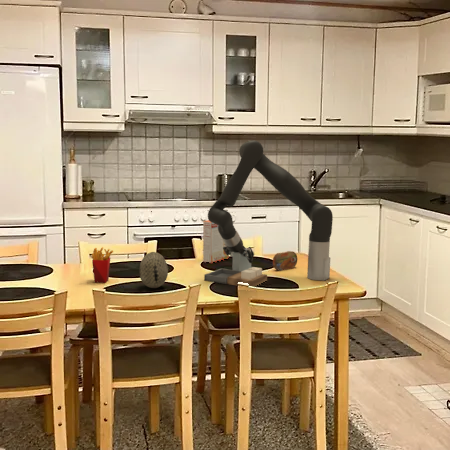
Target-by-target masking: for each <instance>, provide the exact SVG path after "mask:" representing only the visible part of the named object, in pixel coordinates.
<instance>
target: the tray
mask: <svg viewBox="0 0 450 450" xmlns="http://www.w3.org/2000/svg"><path fill="white" fill-rule="evenodd" d="M239 272H241V271H236V270H232V269H227V268H222V267H221V268H219V269H216V270H214V271H211V272H208V273H205V274H204V275H203V276H204V277H203V278H204V281H205V282H209V283H210V282H211V283H216V284H224V285H228V284H227V277H229V276H232V275H234V274H237V273H239Z"/></svg>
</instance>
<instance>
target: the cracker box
mask: <svg viewBox="0 0 450 450" xmlns="http://www.w3.org/2000/svg"><path fill="white" fill-rule="evenodd" d="M202 230H203V232H202V233H203V240H202V242H203V243H202V248H203V249H202V250H203V251H202V255H203V257H202V258H203V259H202V261H203V263H206V262H209V263H208V264H214V263H213V262H215V263H218V262H217V261H219V262H222V261H221V260H223V261H225V260H224V259H228V258H229V259H230V255H226V253H225V251H224V249H223V247H224V245H225V243H224V241H223V239H222V237H221V235H220V233H219V231H218V225H217V224H214V223H212V222H210V221H209V220H208V219H207V220H203V229H202ZM229 259H228V260H229Z"/></svg>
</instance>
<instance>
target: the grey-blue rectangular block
mask: <svg viewBox="0 0 450 450" xmlns="http://www.w3.org/2000/svg"><path fill="white" fill-rule="evenodd" d="M244 253H245V251H244ZM244 253H243V254H244ZM247 256H248V254H247ZM251 267H252V263H249V261H248V259H247V258H246V257H243V256H242V255H240V254H238V253H237V252H235V253H233V258H232V269H231V270H236V271H244V270H246V269H247V270H248V269H249V268H251Z"/></svg>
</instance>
